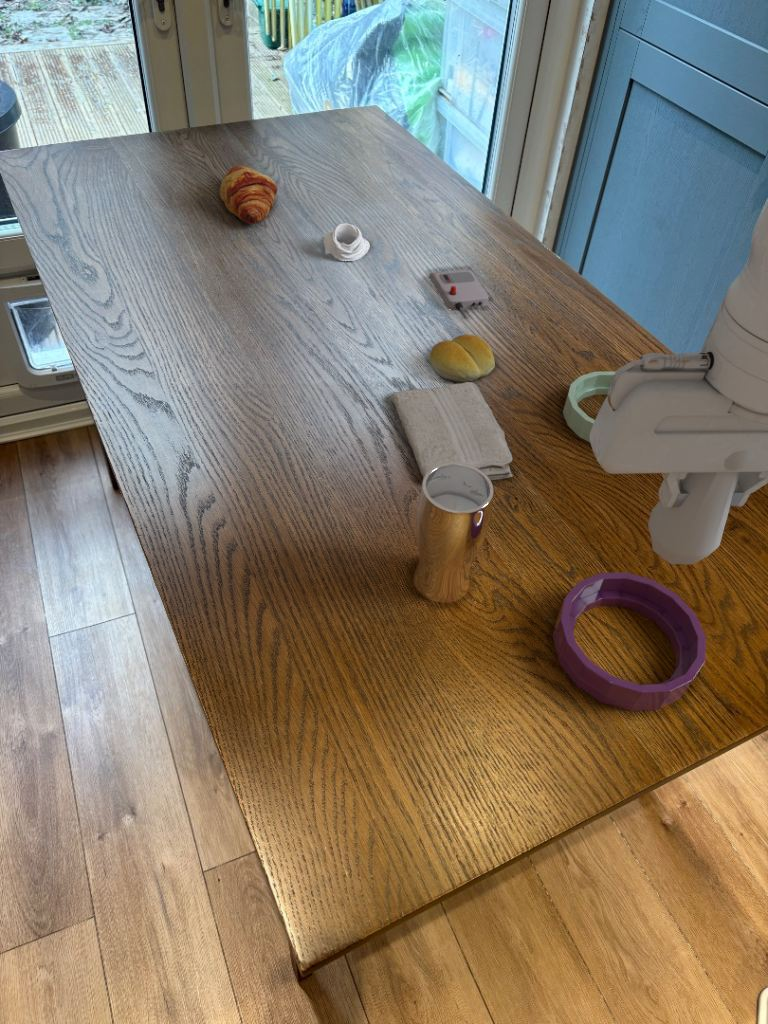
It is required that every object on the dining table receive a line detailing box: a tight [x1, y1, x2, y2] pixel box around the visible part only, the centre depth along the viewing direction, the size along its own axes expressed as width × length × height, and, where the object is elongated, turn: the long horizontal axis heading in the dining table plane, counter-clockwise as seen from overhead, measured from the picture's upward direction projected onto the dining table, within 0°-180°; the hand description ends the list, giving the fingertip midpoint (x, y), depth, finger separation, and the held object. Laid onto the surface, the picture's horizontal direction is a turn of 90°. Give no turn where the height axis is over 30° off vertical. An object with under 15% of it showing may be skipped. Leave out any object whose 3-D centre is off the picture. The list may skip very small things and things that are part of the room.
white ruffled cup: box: [322, 222, 371, 263], centre depth 125 cm, size 8×7×5 cm
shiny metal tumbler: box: [413, 462, 494, 604], centre depth 74 cm, size 7×7×15 cm
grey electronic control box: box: [428, 269, 490, 319], centre depth 119 cm, size 7×16×3 cm, turn 15°
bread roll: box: [429, 334, 496, 383], centre depth 105 cm, size 8×9×4 cm
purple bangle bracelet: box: [552, 571, 707, 712], centre depth 73 cm, size 14×14×4 cm
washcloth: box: [389, 381, 514, 481], centre depth 94 cm, size 12×18×3 cm, turn 15°
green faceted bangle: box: [562, 370, 616, 443], centre depth 98 cm, size 13×13×4 cm
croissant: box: [219, 165, 278, 225], centre depth 135 cm, size 21×10×8 cm, turn 14°
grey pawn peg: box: [647, 451, 755, 565], centre depth 58 cm, size 6×6×13 cm
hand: (699, 501), depth 59 cm, fingers closed on grey pawn peg, 3 cm apart
